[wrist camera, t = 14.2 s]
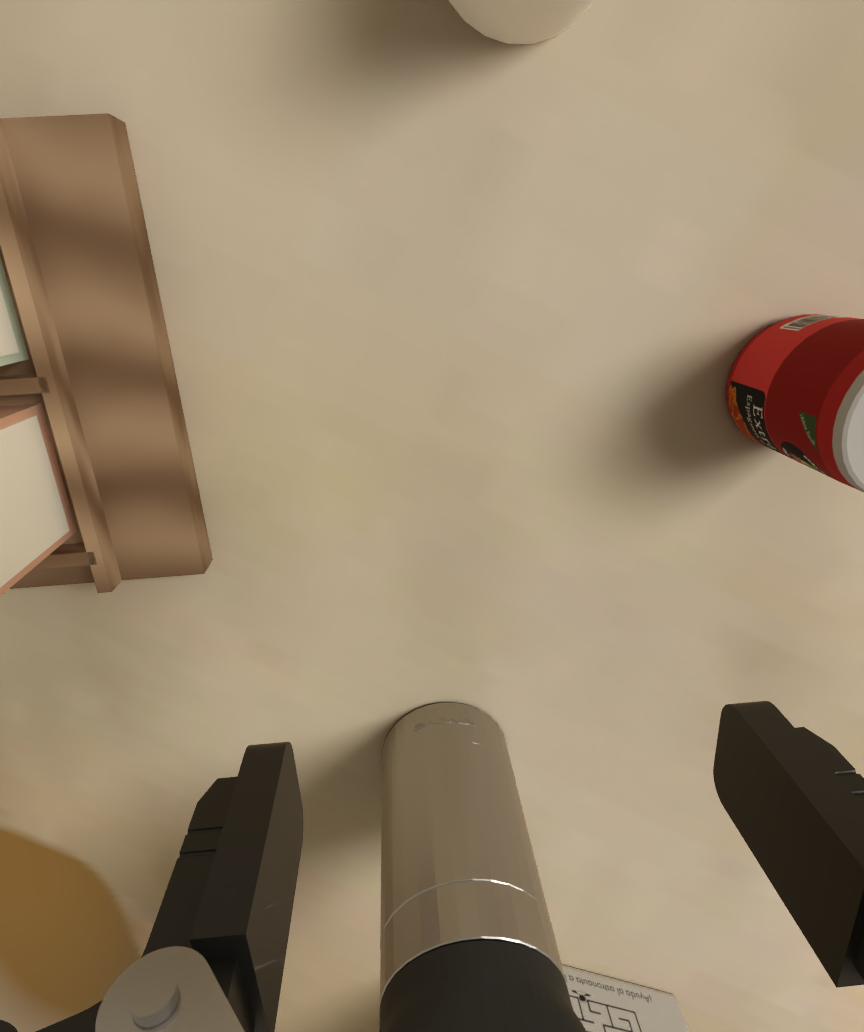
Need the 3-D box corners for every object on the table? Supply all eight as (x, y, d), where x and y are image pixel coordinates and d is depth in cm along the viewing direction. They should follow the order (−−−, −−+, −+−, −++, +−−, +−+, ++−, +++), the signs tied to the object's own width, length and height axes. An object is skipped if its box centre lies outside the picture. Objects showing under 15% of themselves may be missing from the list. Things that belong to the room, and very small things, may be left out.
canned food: (695, 397, 38) (806, 443, 28) (791, 283, 36) (949, 289, 26) (778, 466, 40) (911, 533, 30) (874, 362, 38) (1051, 396, 28)
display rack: (212, 559, 40) (196, 586, 37) (2, 575, 40) (-33, 603, 36) (124, 122, 31) (93, 105, 28) (-147, 135, 31) (-211, 119, 28)
